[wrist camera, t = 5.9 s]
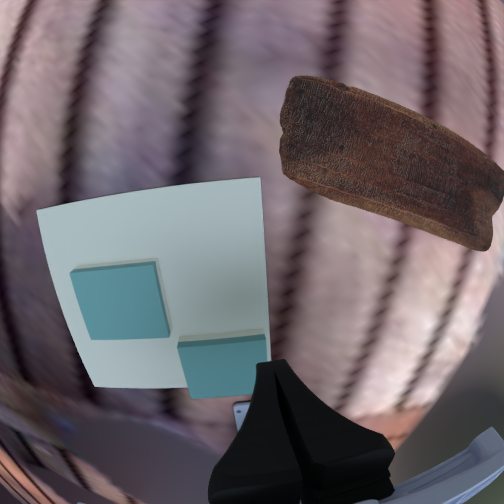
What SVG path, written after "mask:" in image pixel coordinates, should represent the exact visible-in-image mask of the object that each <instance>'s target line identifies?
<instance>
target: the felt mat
mask: <svg viewBox="0 0 504 504" xmlns="http://www.w3.org/2000/svg"><path fill="white" fill-rule="evenodd" d="M37 216H38V221H39V227H40V231H41V236H42V241H43V245H44V249H45V253H46V257H47V261H48V265H49V269H50V272H51V276H52V279H53V283H54V286H55V289H56V293H57V296H58V299H59V302H60V305H61V308H62V311H63V314H64V316H65V319H66V322H67V324H68V327H69V330H70V332H71V335H72V337H73V340H74V342H75V345H76V347H77V349H78V352H79V354H80V356H81V359H82V361H83V363H84V365H85V368H86V370H87V372H88V374H89V376H90V378H91V380H92V382H93V384H94V386H95V387H112V388H184V387H188V386H187V383H186V379H185V376H184V372H183V368H182V365H181V361H180V357H179V354H178V350H177V345H178V340H179V336H192V335H205V334H216V333H227V332H237V331H246V330H255V329H264V333H265V337H266V346H267V361H271V350H270V331H269V312H268V294H267V276H266V259H265V243H264V227H263V211H262V196H261V182H260V177H254V178H241V179H230V180H219V181H210V182H200V183H192V184H183V185H175V186H167V187H160V188H153V189H146V190H139V191H133V192H127V193H120V194H115V195H109V196H103V197H98V198H92V199H87V200H82V201H77V202H72V203H67V204H62V205H57V206H53V207H48V208H44V209H39V210H37ZM156 257H158V262H159V268H160V273H161V278H162V283H163V288H164V293H165V298H166V302H167V307H168V311H169V316H170V320H171V324H172V329H171V333H170V337H169V338H154V339H127V340H91V338H90V336H89V333H88V330H87V328H86V325H85V322H84V319H83V316H82V313H81V310H80V307H79V304H78V301H77V298H76V295H75V291H74V288H73V285H72V281H71V278H70V274H69V273H70V272H71V271H72V270H73V269H75V268H76V267H77V266H80V265H89V264H98V263H108V262H117V261H127V260H137V259H146V258H156Z"/></svg>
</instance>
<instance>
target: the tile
mask: <svg viewBox="0 0 504 504" xmlns="http://www.w3.org/2000/svg"><path fill="white" fill-rule="evenodd" d="M69 274H70V278H71V281H72V285H73V288H74V291H75V295H76V298H77V301H78V304H79V307H80V310H81V313H82V316H83V319H84V322H85V325H86V328H87V330H88V333H89V336H90V338H91V340H127V339H154V338H169V337H170V333H171V329H172V324H171V320H170V316H169V311H168V307H167V302H166V298H165V293H164V288H163V283H162V278H161V273H160V268H159V262H158V257H156V258H146V259H137V260H127V261H117V262H108V263H98V264H89V265H80V266H77V267H76V268H75V269H73V270H72V271H71V272H70V273H69Z"/></svg>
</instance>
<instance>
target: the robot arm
mask: <svg viewBox="0 0 504 504" xmlns="http://www.w3.org/2000/svg"><path fill="white" fill-rule="evenodd" d="M233 409H234V414H235V420H236V425H237V430H238V433H237V435H236V437H235V439H234V440H233V442H232V443H231V445H230V447H229V448H228V450H227V451H226V453H225V454H224V455H223V457H222V458H221V459H220V460H219V462H218V463H217V464H216V465H215V467H214V469H213V472H212V474H211V478H210V481H209V486H208V500H209V503H210V504H462V503H464V502H465V501H467V500H468V499H469V498H471V497H472V496H473V495H475V494H476V493H478V492H479V491H480V490H482V489H483V488H485V487H486V486H487V485H489V484H490V483H491V482H492V481H493V480H494V479H495V478H496V477H497V476H498V475H499V474H500V473H501V472H502V471H503V470H504V441H503V439H502V438H501V437H500V436H499V434H498V433H497V432H496V431H495V429H494V428H493V427H490V428H489V429H488V430H486V431H485V432H483V433H482V434H480V435H479V436H477V437H476V438H475V439H474V440H473V441H472V442H471V444H470V445H469V448H467V449H465V450H464V451H462V452H461V453H459V454H457V455H455V456H454V457H452V458H450V459H449V460H447V461H445V462H443V463H441V464H440V465H438V466H436V467H434V468H432V469H430V470H428V471H426V472H424V473H422V474H420V475H418V476H416V477H414V478H411V479H409V480H407V481H405V482H402V483H400V484H397V485H395V486H393V485H392V483H391V481H390V479H389V477H390V472H389V470H388V467H389V465H390V464H391V462H392V460H393V458H394V455H395V452H394V450H393V448H392V446H391V444H390V443H389V442H388V440H387V439H386V438H385V436H384V435H383V434H380V433H377V432H375V431H372V430H369V429H367V428H364V427H362V426H360V425H358V424H356V423H354V422H352V421H351V420H349V419H347V418H345V417H344V416H342V415H340V414H339V413H337V412H336V411H334V410H333V409H332V408H330V407H329V406H328V405H326V404H325V403H324V402H323V401H321V400H320V399H319V398H318V397H317V396H316V395H315V394H314V393H313V392H312V391H311V390H310V389H309V388H308V387H307V386H306V385H305V384H304V383H303V382H302V381H301V380H300V379H299V377H298V376H297V375H296V374H295V373H294V371H293V370H292V369H291V367H290V366H289V364H288V363H287V361H286V360H285V359H281V360H274V361H267V362H260V363H257V364H256V380H255V386H254V390H253V395H252V398H251V402H244V403H236V404H234V406H233ZM238 410H239V411H238ZM77 504H85V503H80V502H78V503H77Z"/></svg>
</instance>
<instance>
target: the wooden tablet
mask: <svg viewBox="0 0 504 504" xmlns="http://www.w3.org/2000/svg"><path fill="white" fill-rule="evenodd" d="M280 125H281V127H282V131H283V135H282V136H281V138H280V148H279V153H280V157H281V162H282V171H283V174H284V175H286V176H287V177H288V178H289V179H291V180H293V181H295V182H296V183H298V184H300V185H302V186H304V187H305V188H307V189H309V190H311V191H313V192H315V193H317V194H319V195H321V196H324V197H327V198H328V199H331V200H334V201H336V202H340V203H343V204H347V205H350V206H354V207H357V208H360V209H363V210H366V211H370V212H373V213H376V214H379V215H383V216H386V217H388V218H392V219H394V220H398V221H400V222H403V223H405V224H408V225H411V226H413V227H416V228H419V229H421V230H424V231H426V232H429V233H432V234H434V235H436V236H439V237H442V238H445V239H447V240H450V241H453V242H456V243H458V244H461V245H463V246H466V247H468V248H471V249H474V250H477V251H483V252H484V251H487V250H488V249H489V248H490V246H491V242H492V237H493V226H492V216H493V215H494V214H495V212H496V211H497V210H498V209H499V207H500V205H501V203H502V200H503V197H504V171H503V170H502V169H501V168H500V167H499V166H498V165H497V164H496V163H495V162H494V161H493V160H492V159H491V158H490V157H488V156H487V155H486V154H485V153H483V152H482V151H481V150H480V149H478V148H476V147H475V146H474V145H472V144H471V143H470V142H468V141H466V140H465V139H464V138H462V137H460V136H459V135H457V134H456V133H454V132H453V131H451V130H449V129H448V128H446V127H444V126H442V125H440V124H438V123H436V122H434V121H432V120H430V119H428V118H426V117H424V116H422V115H420V114H419V113H417V112H414V111H412V110H410V109H408V108H405V107H403V106H401V105H399V104H396V103H394V102H391V101H389V100H386V99H384V98H381V97H379V96H377V95H374V94H371V93H368V92H366V91H363V90H361V89H358V88H355V87H347V86H346V85H345V84H342V83H338V82H335V81H331V80H327V79H323V78H319V77H312V76H295V77H294V78H292V80H291V81H290V86H289V87H288V89H287V91H286V98H285V101H284V104H283V106H282V109H281V113H280Z"/></svg>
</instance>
